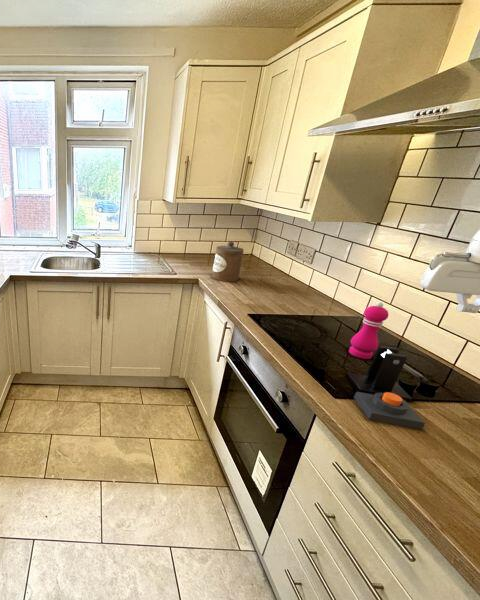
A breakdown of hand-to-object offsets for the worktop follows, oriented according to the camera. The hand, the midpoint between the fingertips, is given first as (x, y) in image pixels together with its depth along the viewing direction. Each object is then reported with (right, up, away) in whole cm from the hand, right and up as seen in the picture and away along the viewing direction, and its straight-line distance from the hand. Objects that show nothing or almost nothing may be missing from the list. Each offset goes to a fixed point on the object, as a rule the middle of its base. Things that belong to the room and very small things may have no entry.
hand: (466, 311), depth 75 cm
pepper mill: (+7, -17, +36) cm, 41 cm away
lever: (0, -17, +15) cm, 23 cm away
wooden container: (-4, +16, +116) cm, 117 cm away
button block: (-10, -28, +9) cm, 31 cm away
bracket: (-4, -24, +19) cm, 31 cm away
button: (-10, -24, +8) cm, 27 cm away
